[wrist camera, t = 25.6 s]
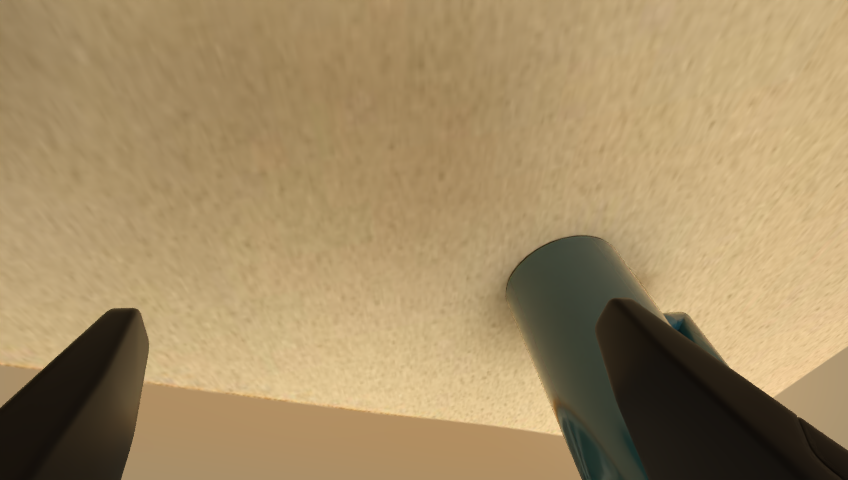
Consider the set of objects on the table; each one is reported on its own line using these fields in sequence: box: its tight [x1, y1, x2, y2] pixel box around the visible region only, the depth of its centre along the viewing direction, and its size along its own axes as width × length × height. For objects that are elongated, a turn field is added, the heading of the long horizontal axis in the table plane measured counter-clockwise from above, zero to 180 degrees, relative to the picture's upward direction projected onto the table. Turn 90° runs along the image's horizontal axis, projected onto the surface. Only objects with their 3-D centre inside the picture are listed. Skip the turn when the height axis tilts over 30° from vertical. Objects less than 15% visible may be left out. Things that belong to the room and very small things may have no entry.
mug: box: [506, 236, 730, 480], centre depth 24 cm, size 10×7×13 cm
